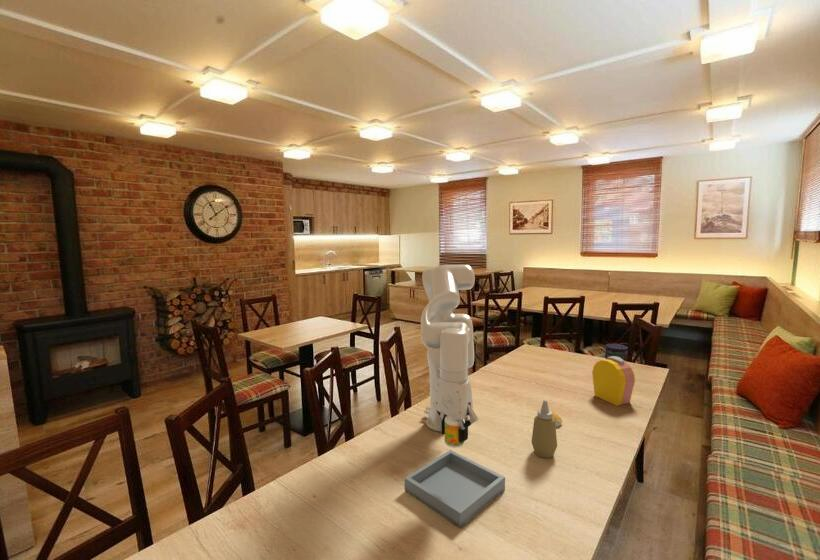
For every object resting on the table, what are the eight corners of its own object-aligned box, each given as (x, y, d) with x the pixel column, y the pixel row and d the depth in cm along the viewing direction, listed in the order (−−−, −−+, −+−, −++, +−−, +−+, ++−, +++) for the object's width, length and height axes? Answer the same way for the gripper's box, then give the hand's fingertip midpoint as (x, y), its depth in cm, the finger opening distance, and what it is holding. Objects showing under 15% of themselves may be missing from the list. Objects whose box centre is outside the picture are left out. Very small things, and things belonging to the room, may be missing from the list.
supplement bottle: (440, 443, 108) (440, 409, 107) (453, 435, 112) (452, 403, 111) (455, 450, 105) (455, 416, 103) (468, 442, 108) (468, 409, 107)
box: (404, 491, 110) (404, 477, 110) (450, 461, 124) (450, 449, 124) (460, 528, 96) (460, 513, 96) (504, 490, 110) (505, 477, 109)
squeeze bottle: (540, 462, 123) (541, 407, 121) (526, 449, 131) (527, 397, 129) (562, 458, 125) (564, 404, 123) (547, 445, 133) (548, 394, 131)
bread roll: (551, 415, 154) (551, 406, 154) (565, 426, 146) (565, 416, 145) (532, 418, 153) (533, 408, 152) (545, 429, 144) (546, 418, 143)
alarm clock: (634, 403, 163) (637, 361, 161) (620, 407, 160) (622, 364, 158) (605, 390, 177) (606, 351, 175) (591, 393, 174) (593, 354, 172)
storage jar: (599, 372, 200) (601, 344, 198) (615, 370, 202) (616, 342, 201) (615, 379, 190) (616, 349, 188) (631, 377, 193) (632, 347, 191)
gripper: (422, 370, 110) (422, 431, 112) (471, 386, 97) (471, 454, 99) (439, 363, 115) (440, 421, 117) (488, 378, 103) (488, 443, 105)
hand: (454, 436), depth 108 cm, fingers closed on supplement bottle, 5 cm apart
